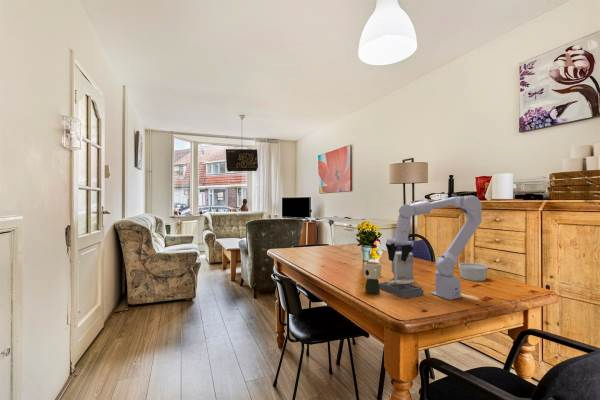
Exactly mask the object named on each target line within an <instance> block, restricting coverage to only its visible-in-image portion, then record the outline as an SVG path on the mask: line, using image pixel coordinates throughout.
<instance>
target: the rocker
mask: <svg viewBox="0 0 600 400" xmlns="http://www.w3.org/2000/svg"><path fill="white" fill-rule="evenodd" d="M389 281H390V282H387V281H386V282H387V284H395V285H397V284H406V283H411V282H415V281H413V280H405V279H404V280H396V281H393V280H389Z"/></svg>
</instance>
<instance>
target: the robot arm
mask: <svg viewBox="0 0 600 400" xmlns="http://www.w3.org/2000/svg"><path fill="white" fill-rule="evenodd" d="M451 206H452V207H456V208H460V209H461V211H463V213H464V216H465V218H466V220H465V222H464V223H463V225H462V226H461V228H460V230H459V231H458V232H457V234H456V236H455V237H454V238H453V240H452V241H451V243H450V244H449V246H448V248H447V249H446V251H444V252H443V253H442V255H441V256H438V258H436V260H435V262H434V265H435V267H436V271H435V272H434V276H435V277H434V278H435V279H434V281H435V282H434V285H435V286H434V287H435V288H434V289H435V291H430V294H432V295H435V296H438V297H441V298H443V299H446V300H454V299H459V298H462V297H463V295H462V294H461V293H462V291H461V290H462V289H461V288H462V287H461V286H462V282H461V279H460V278H459V277H456V276H455V273H454V272H455V266H456V264H457V262H458V258H459V256H460V255H461V254H462V252H463V250H464V249H465V247H466V245H467V244H468V243H469V241H470V240H471V238H472V237H473V235H474V233H476V230H477V229H478V228H479V226H480V225H481V223H482V221H483V220H482V219H483V218H482V216H483V215H482V208H483V205H482V203H481V201H480V199H479V197H477V196H475V195H464V196H463V195H462V196H450V197H446V198H443V199H439V200H435V201H429V200H427V199H420V201H416V202H411V201H410V202H408V203H405V204H402V205H401V206H400V207H399V209H398V213H399V215H398V216H397V221H396V226H395V233H394V237H393V238H390V239H389V238H387V239H386V243H385V246H386V249H387V255H388V261H391V262H392V261H393V260H394V256H395V252H396V251H397V250H398V248H399V247H398V246H401V251H402V254H401V260H402V261H404V262H405V261H406V259H407V257H408V255H409V253H410V252H411V253H412V252H413V250H414V242H415V241H411V240H409V234H410V230H411V219H412V216H415V217H416V216H420V215H425V214H430V213H431V212H432V211H433V210H435V209H440V208H445V207H451Z"/></svg>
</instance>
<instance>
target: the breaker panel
mask: <svg viewBox="0 0 600 400" xmlns="http://www.w3.org/2000/svg"><path fill="white" fill-rule="evenodd" d="M390 281H391V280H389V281H383V282H379V287H380V291H384V292H387V293H389V294H392V295H395V296H398V297H401V298H402V299H410V298H414V297H415V298H416V297H418V296H419V297H420V296H423V295H425V294H424V293H425V292H424V290H425V289H423V287H420V286H418V285H414V284H413V285H411V284H408V283H406V284H397V285H395V284H387V282H390ZM392 281H396V280H394V279H393V280H392Z"/></svg>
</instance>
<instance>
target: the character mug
mask: <svg viewBox="0 0 600 400" xmlns="http://www.w3.org/2000/svg"><path fill="white" fill-rule="evenodd" d="M363 264H364V265H363V266H364V267H363V270H364V271H363V276H364V278H365V279H366V281H365V282H366V283H365V288H364V291H365V292H366V293H367V294H378V293H380V292H381V289H380V287H379V284H380V282H379V279H381V277H382V274H381V273H382V271H381V268H382V264H381V262H377V261H365V262H364V263H363Z"/></svg>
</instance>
